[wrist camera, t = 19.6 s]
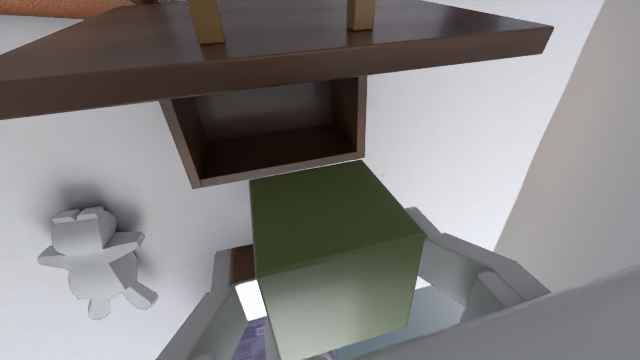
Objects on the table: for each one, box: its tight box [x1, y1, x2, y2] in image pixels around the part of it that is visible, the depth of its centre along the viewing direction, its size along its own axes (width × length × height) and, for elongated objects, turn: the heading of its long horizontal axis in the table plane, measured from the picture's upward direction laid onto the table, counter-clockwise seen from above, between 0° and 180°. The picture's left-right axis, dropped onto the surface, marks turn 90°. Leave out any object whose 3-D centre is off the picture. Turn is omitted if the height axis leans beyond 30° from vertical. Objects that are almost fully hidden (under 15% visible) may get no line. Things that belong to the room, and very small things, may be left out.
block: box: [249, 160, 426, 360], centre depth 9 cm, size 4×4×4 cm
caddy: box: [159, 75, 367, 189], centre depth 24 cm, size 13×16×9 cm
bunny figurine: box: [37, 206, 158, 320], centre depth 31 cm, size 10×5×15 cm
